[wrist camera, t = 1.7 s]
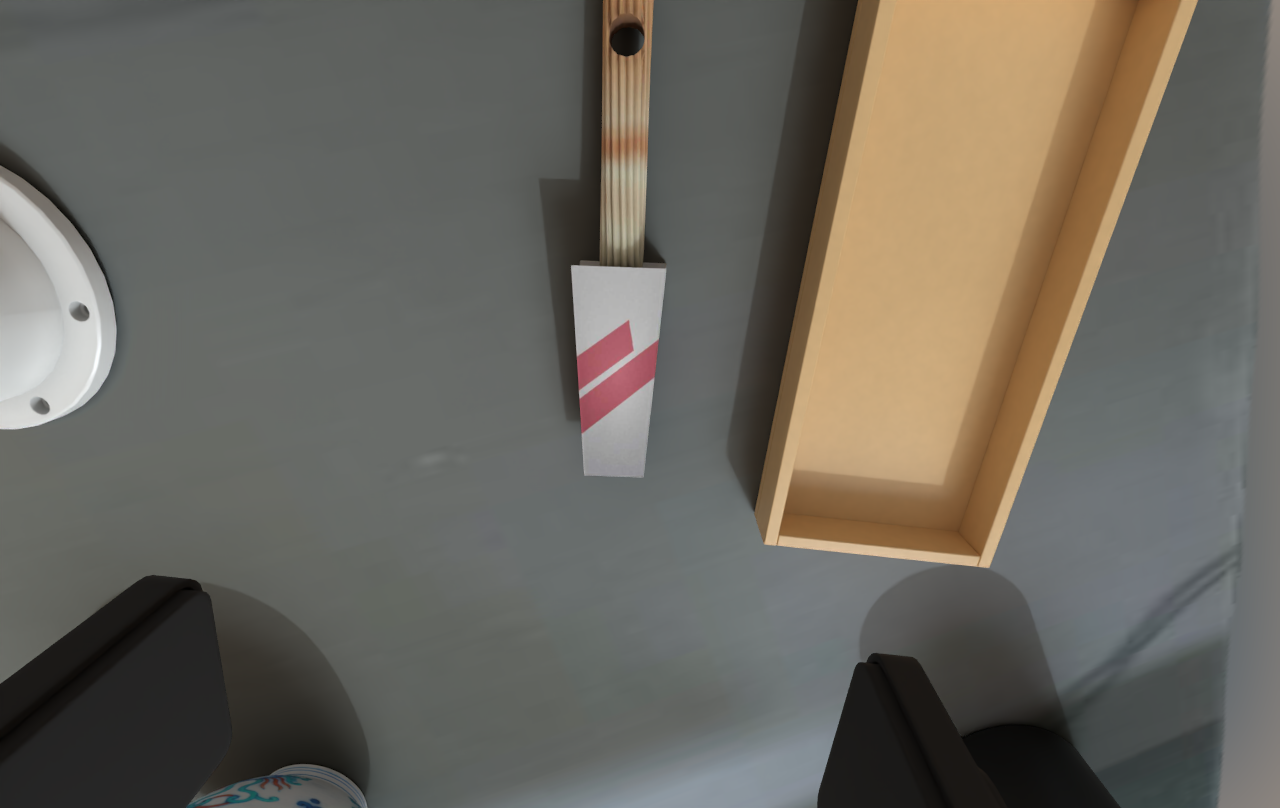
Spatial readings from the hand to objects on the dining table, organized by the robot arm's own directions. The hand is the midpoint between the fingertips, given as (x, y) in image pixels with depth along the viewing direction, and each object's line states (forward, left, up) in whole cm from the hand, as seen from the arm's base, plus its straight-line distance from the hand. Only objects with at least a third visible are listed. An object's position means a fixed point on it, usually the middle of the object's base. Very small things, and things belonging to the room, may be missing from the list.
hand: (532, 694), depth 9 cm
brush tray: (+13, +4, -20) cm, 25 cm away
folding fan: (0, +4, -20) cm, 21 cm away
